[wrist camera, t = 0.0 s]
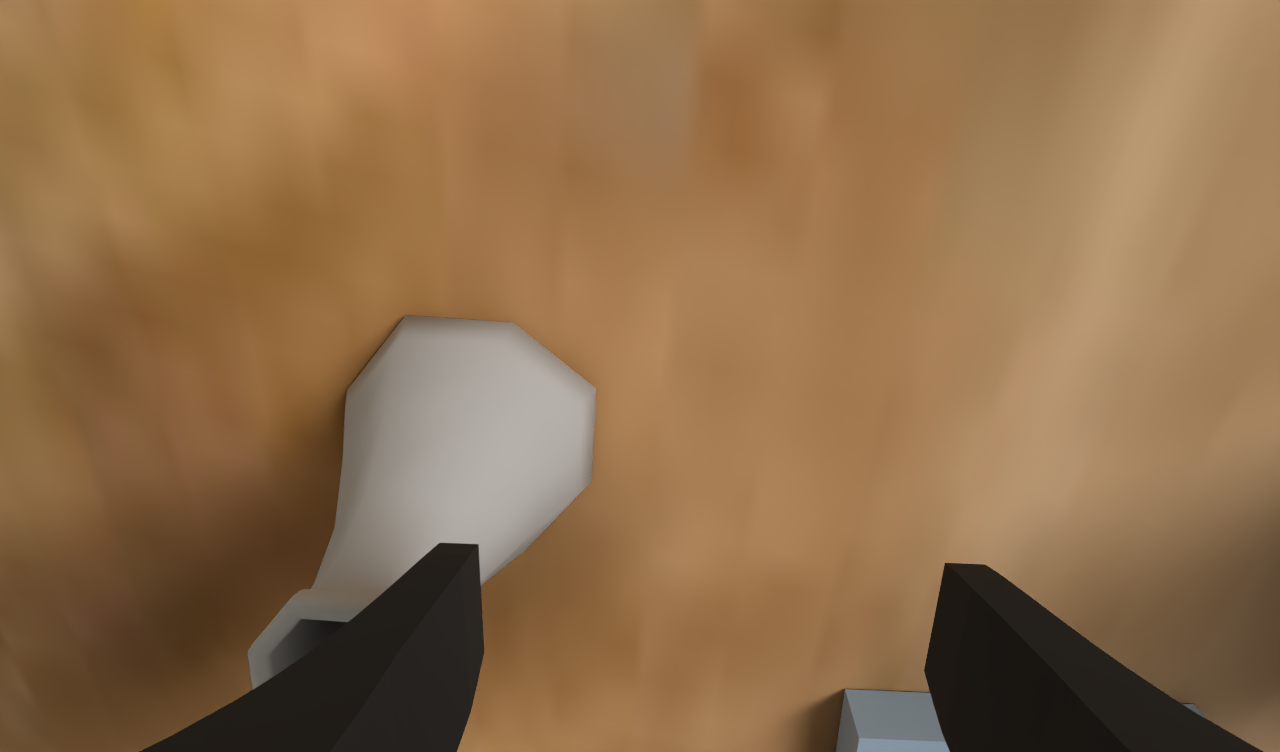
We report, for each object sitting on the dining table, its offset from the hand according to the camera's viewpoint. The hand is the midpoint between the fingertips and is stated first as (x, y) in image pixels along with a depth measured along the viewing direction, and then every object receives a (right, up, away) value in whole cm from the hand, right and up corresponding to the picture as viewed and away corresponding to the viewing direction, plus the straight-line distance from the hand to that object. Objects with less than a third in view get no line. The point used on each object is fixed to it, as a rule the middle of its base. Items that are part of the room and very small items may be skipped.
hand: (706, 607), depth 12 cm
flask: (-6, +2, +11) cm, 12 cm away
